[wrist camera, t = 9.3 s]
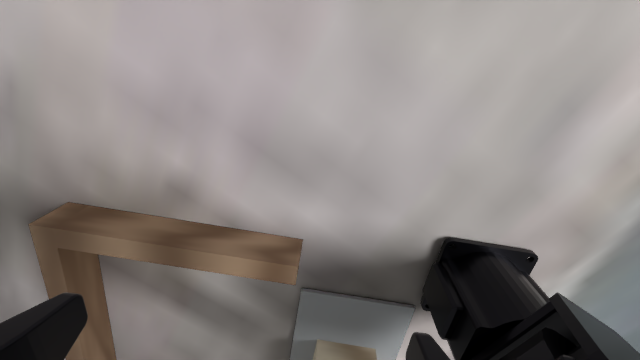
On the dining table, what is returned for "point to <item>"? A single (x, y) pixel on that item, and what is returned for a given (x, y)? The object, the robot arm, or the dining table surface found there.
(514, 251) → the robot arm
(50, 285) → the walnut u-shaped frame
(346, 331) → the grey mat
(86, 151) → the dining table surface
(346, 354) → the birch block
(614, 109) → the dining table surface
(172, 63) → the dining table surface
